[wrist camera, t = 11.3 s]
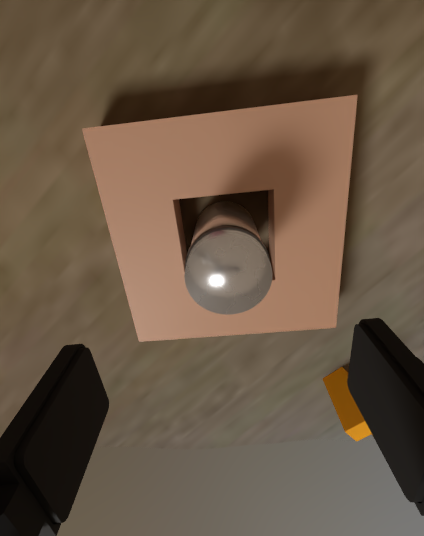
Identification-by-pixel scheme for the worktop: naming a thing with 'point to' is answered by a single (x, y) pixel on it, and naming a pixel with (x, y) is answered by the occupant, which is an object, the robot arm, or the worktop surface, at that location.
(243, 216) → the piston
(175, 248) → the pink square holed slab
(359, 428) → the pipe clamp
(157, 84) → the worktop surface
